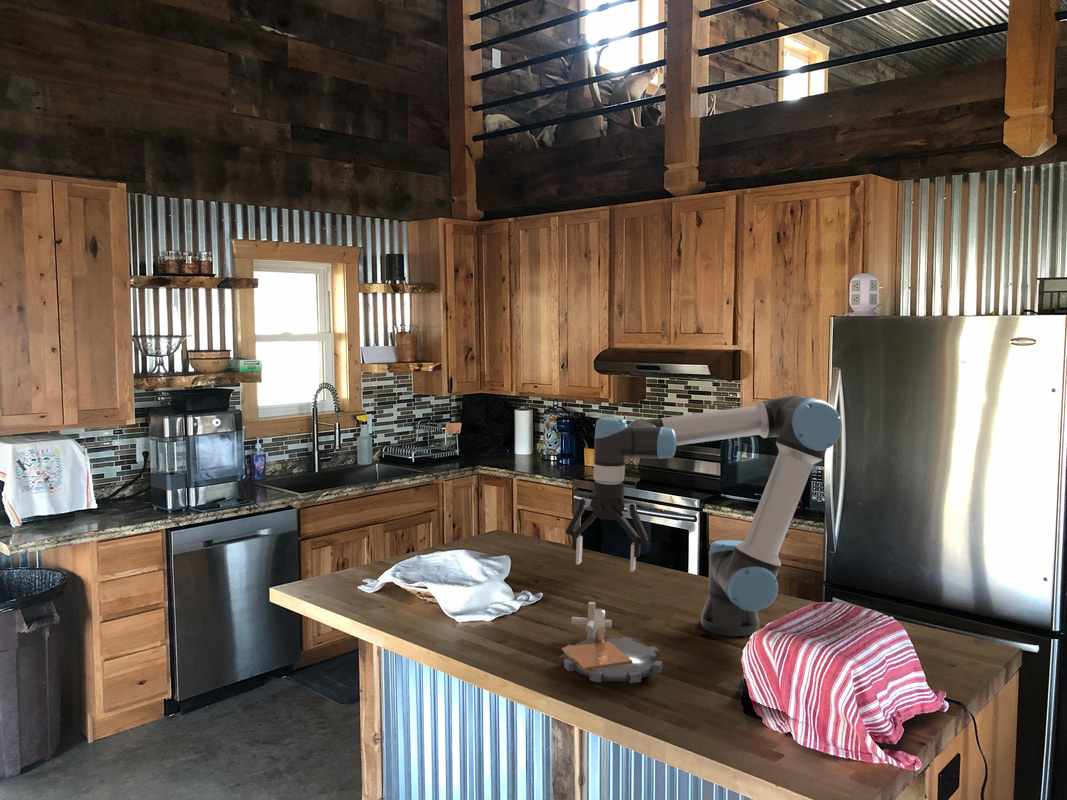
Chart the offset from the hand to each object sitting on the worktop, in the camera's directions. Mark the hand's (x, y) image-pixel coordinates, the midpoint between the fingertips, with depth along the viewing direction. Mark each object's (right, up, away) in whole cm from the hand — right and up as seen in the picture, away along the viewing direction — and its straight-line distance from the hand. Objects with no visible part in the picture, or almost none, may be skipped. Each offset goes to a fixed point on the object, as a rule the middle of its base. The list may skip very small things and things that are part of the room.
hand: (605, 566), depth 209 cm
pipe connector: (-3, -20, +6) cm, 21 cm away
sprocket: (+1, -20, -13) cm, 24 cm away
